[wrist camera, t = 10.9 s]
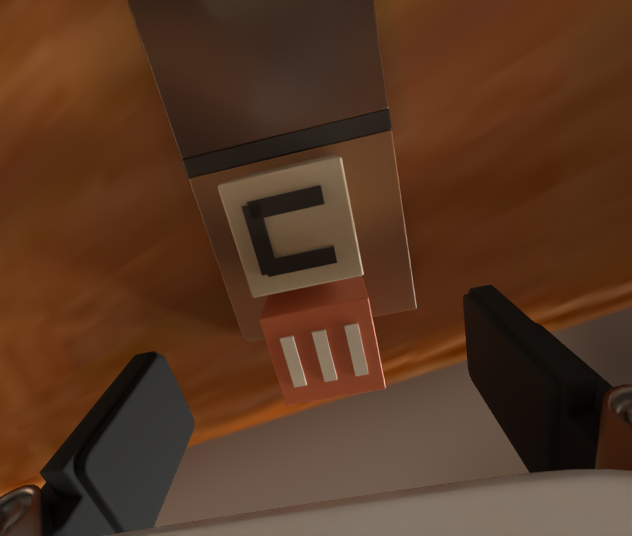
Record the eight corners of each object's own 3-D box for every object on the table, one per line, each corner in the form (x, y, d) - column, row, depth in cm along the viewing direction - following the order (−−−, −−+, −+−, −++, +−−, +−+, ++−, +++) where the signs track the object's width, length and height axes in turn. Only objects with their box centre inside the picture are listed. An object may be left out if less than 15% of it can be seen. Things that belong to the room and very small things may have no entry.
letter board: (83, -145, 12) (71, -160, 11) (337, -230, 11) (339, -250, 10) (246, 336, 18) (244, 342, 18) (414, 303, 17) (417, 309, 17)
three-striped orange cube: (274, 275, 16) (258, 320, 12) (355, 258, 16) (368, 298, 12) (294, 345, 18) (286, 408, 13) (370, 330, 17) (386, 390, 13)
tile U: (245, 174, 15) (214, 186, 10) (335, 153, 14) (341, 155, 10) (269, 259, 16) (251, 300, 12) (352, 241, 16) (364, 277, 11)
